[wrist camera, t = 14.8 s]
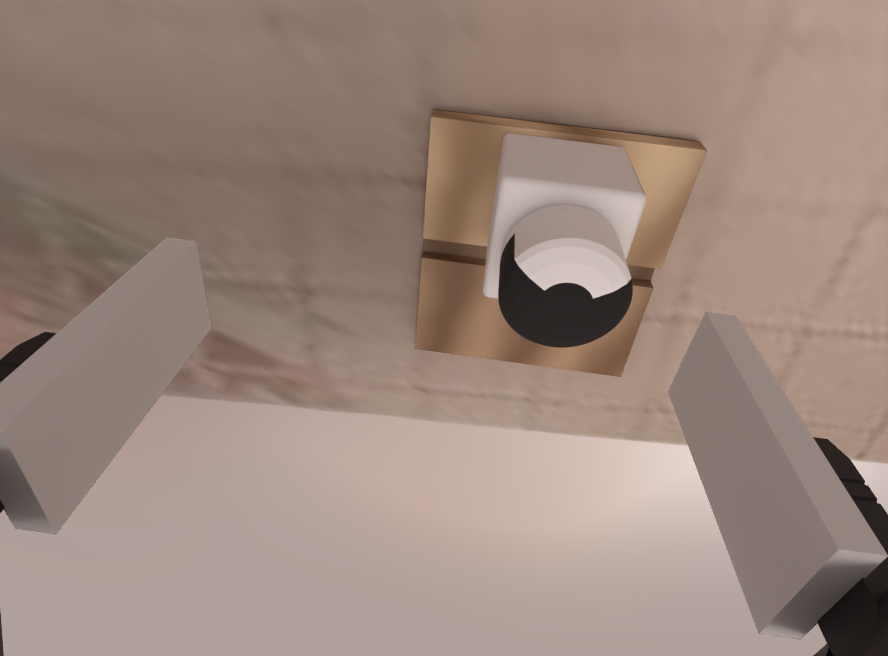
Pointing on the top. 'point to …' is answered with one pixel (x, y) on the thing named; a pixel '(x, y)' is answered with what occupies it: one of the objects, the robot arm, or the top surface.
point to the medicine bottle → (562, 238)
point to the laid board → (483, 326)
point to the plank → (480, 138)
